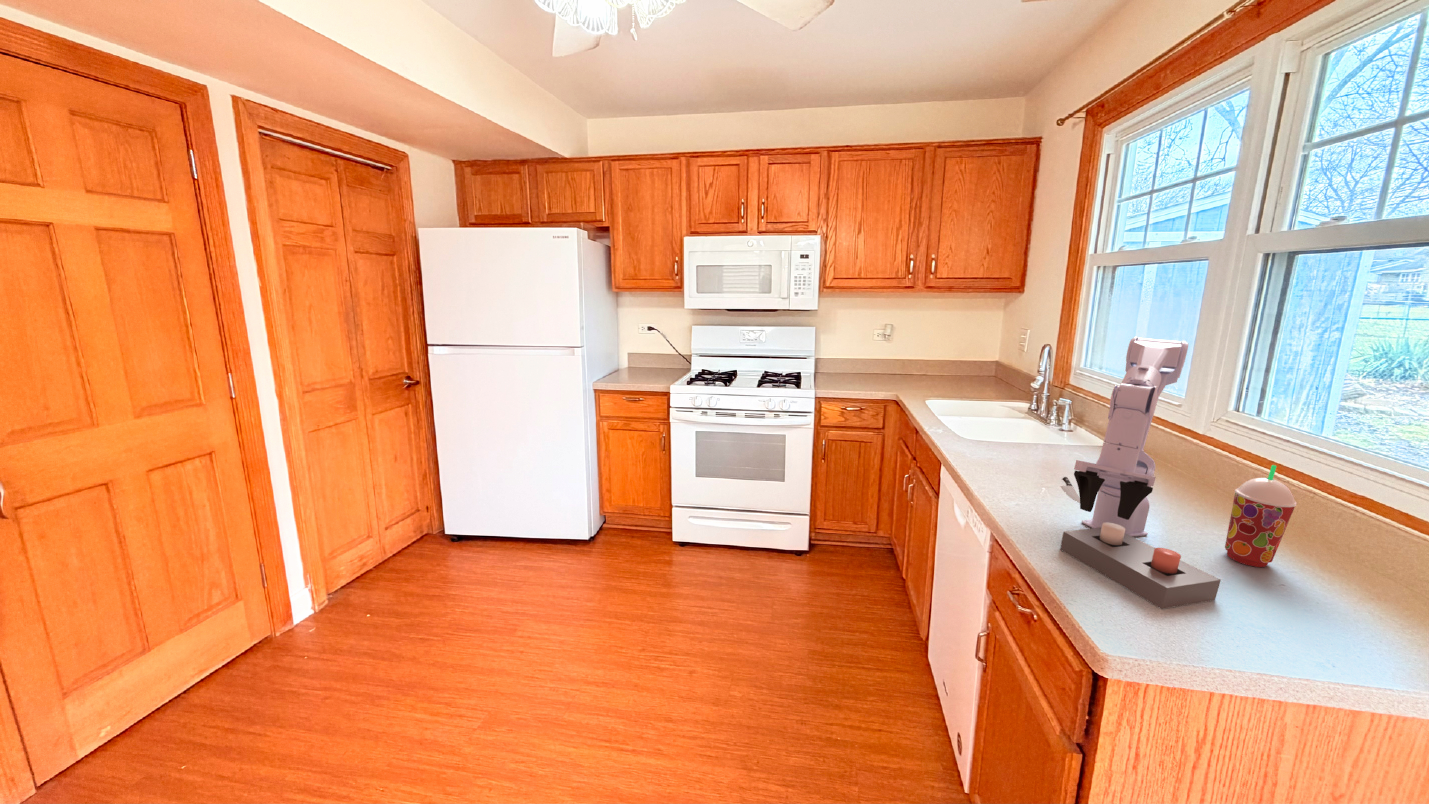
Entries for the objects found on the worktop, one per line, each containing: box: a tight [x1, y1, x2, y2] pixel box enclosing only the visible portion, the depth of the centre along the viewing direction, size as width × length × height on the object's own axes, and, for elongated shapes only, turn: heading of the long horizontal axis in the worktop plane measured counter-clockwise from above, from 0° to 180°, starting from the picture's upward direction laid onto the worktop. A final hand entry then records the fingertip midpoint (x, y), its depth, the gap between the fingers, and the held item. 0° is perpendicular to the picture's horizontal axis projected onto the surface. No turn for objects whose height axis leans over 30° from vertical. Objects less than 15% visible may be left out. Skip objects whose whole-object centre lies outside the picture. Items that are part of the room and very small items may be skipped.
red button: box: [1151, 547, 1182, 574], centre depth 94 cm, size 4×4×3 cm
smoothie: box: [1224, 464, 1298, 568], centre depth 103 cm, size 8×8×20 cm
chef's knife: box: [1060, 476, 1080, 504], centre depth 138 cm, size 19×1×3 cm
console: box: [1060, 527, 1222, 610], centre depth 99 cm, size 12×20×4 cm, turn 14°
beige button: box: [1100, 522, 1125, 545], centre depth 103 cm, size 4×4×3 cm
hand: (1104, 514), depth 102 cm, fingers open, 7 cm apart
